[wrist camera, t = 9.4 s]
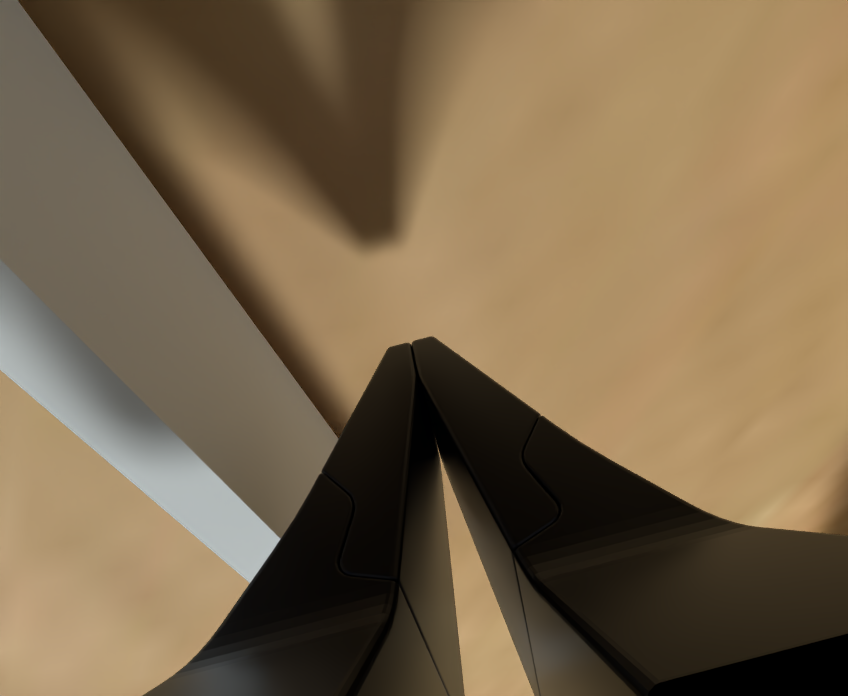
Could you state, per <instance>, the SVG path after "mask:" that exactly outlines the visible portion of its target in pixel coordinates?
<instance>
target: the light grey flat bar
mask: <svg viewBox="0 0 848 696" xmlns="http://www.w3.org/2000/svg"><path fill="white" fill-rule="evenodd" d="M0 370H1V371H2V372H3V373H5V374H6V375H7V376H8V377H9V378H10V379H12V380H13V381H14V382H15V383H16V384H18V385H19V386H20V387H21V388H22V389H23V390H25V391H26V392H27V393H28V394H29V395H30V396H32V397H33V398H34V399H35V400H36V401H37V402H39V403H40V404H41V405H42V406H43V407H44V408H46V409H47V410H48V411H49V412H50V413H51V414H53V415H54V416H55V417H56V418H57V419H59V420H60V421H61V422H62V423H63V424H64V425H66V426H67V427H68V428H69V429H70V430H71V431H73V432H74V433H75V434H76V435H77V436H78V437H80V438H81V439H82V440H83V441H84V442H85V443H87V444H88V445H89V446H90V447H91V448H92V449H94V450H95V451H96V452H97V453H98V454H100V455H101V456H102V457H103V458H104V459H105V460H107V461H108V462H109V463H110V464H111V465H112V466H114V467H115V468H116V469H117V470H118V471H119V472H121V473H122V474H123V475H124V476H125V477H126V478H128V479H129V480H130V481H131V482H132V483H133V484H135V485H136V486H137V487H138V488H139V489H141V490H142V491H143V492H144V493H145V494H146V495H148V496H149V497H150V498H151V499H152V500H153V501H155V502H156V503H157V504H158V505H159V506H160V507H162V508H163V509H164V510H165V511H166V512H167V513H169V514H170V515H171V516H172V517H173V518H174V519H176V520H177V521H178V522H179V523H180V524H182V525H183V526H184V527H185V528H186V529H187V530H189V531H190V532H191V533H192V534H193V535H194V536H196V537H197V538H198V539H199V540H200V541H201V542H203V543H204V544H205V545H206V546H207V547H208V548H210V549H211V550H212V551H213V552H214V553H215V554H217V555H218V556H219V557H220V558H221V559H222V560H224V561H225V562H226V563H227V564H228V565H230V566H231V567H232V568H233V569H234V570H235V571H237V572H238V573H239V574H240V575H241V576H242V577H244V578H245V579H246V580H247V581H248V582H249V583H250V582H251V581H252V580H253V578H254V577H255V575H256V574H257V572H258V571H259V569H260V568H261V567H262V565H263V564H264V562H265V561H266V559H267V558H268V557H269V555H270V554H271V552H272V551H273V549H274V548H275V546H276V545H277V543H278V542H279V540H280V539H281V537H282V536H283V534H284V533H285V531H286V530H287V528H288V527H289V525H290V524H291V522H292V521H293V519H294V518H295V516H296V514H297V512H298V511H299V509H300V507H301V506H302V504H303V502H304V500H305V499H306V497H307V495H308V494H309V492H310V490H311V488H312V486H313V485H314V483H315V481H316V479H317V477H318V475H319V474H321V473H322V472H321V471H322V469H323V467H324V465H325V463H326V461H327V459H328V458H329V456H330V454H331V452H332V450H333V448H334V446H335V445H336V443H337V441H338V437H337V436H336V435H335V433H334V432H333V431H332V429H331V428H330V426H329V425H328V424H327V422H326V421H325V420H324V418H323V417H322V416H321V414H320V413H319V411H318V410H317V409H316V407H315V406H314V405H313V403H312V402H311V401H310V399H309V398H308V396H307V395H306V394H305V392H304V391H303V390H302V388H301V387H300V386H299V384H298V383H297V381H296V380H295V379H294V377H293V376H292V375H291V373H290V372H289V370H288V369H287V368H286V366H285V365H284V364H283V362H282V361H281V360H280V358H279V357H278V355H277V354H276V353H275V351H274V350H273V349H272V347H271V346H270V345H269V343H268V342H267V340H266V339H265V338H264V336H263V335H262V334H261V332H260V331H259V330H258V328H257V327H256V325H255V324H254V323H253V321H252V320H251V319H250V317H249V316H248V314H247V313H246V312H245V310H244V309H243V308H242V306H241V305H240V304H239V302H238V301H237V299H236V298H235V297H234V295H233V294H232V293H231V291H230V290H229V289H228V287H227V286H226V284H225V283H224V282H223V280H222V279H221V278H220V276H219V275H218V274H217V272H216V271H215V269H214V268H213V267H212V265H211V264H210V263H209V261H208V260H207V258H206V257H205V256H204V254H203V253H202V252H201V250H200V249H199V248H198V246H197V245H196V243H195V242H194V241H193V239H192V238H191V237H190V235H189V234H188V233H187V231H186V230H185V228H184V227H183V226H182V224H181V223H180V222H179V220H178V219H177V218H176V216H175V215H174V213H173V212H172V211H171V209H170V208H169V207H168V205H167V204H166V202H165V201H164V200H163V198H162V197H161V196H160V194H159V193H158V192H157V190H156V189H155V187H154V186H153V185H152V183H151V182H150V181H149V179H148V178H147V177H146V175H145V174H144V172H143V171H142V170H141V168H140V167H139V166H138V164H137V163H136V162H135V160H134V159H133V157H132V156H131V155H130V153H129V152H128V151H127V149H126V148H125V146H124V145H123V144H122V142H121V141H120V140H119V138H118V137H117V136H116V134H115V133H114V131H113V130H112V129H111V127H110V126H109V125H108V123H107V122H106V121H105V119H104V118H103V116H102V115H101V114H100V112H99V111H98V110H97V108H96V107H95V106H94V104H93V103H92V101H91V100H90V99H89V97H88V96H87V95H86V93H85V92H84V90H83V89H82V88H81V86H80V85H79V84H78V82H77V81H76V80H75V78H74V77H73V75H72V74H71V73H70V71H69V70H68V69H67V67H66V66H65V65H64V63H63V62H62V60H61V59H60V58H59V56H58V55H57V54H56V52H55V51H54V50H53V48H52V47H51V45H50V44H49V43H48V41H47V40H46V39H45V37H44V36H43V34H42V33H41V32H40V30H39V29H38V28H37V26H36V25H35V24H34V22H33V21H32V19H31V18H30V17H29V15H28V14H27V13H26V11H25V10H24V9H23V7H22V6H21V4H20V3H19V2H18V0H0Z"/></svg>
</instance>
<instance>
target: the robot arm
mask: <svg viewBox="0 0 848 696" xmlns="http://www.w3.org/2000/svg"><path fill="white" fill-rule="evenodd" d="M435 438H436V439H435ZM436 442H437V443H436ZM437 446H438V447H437ZM438 449H439V452H438ZM439 453H440V456H441V459H442V462H443V465H444V468H445V470H446V473H447V475H448V478H449V480H450V483H451V485H452V488H453V490H454V493H455V495H456V498H457V500H458V503H459V506H460V508H461V511H462V513H463V516H464V518H465V521H466V523H467V526H468V528H469V531H470V533H471V536H472V538H473V541H474V544H475V546H476V549H477V551H478V554H479V556H480V559H481V561H482V564H483V566H484V569H485V571H486V574H487V576H488V579H489V581H490V584H491V587H492V589H493V592H494V594H495V597H496V599H497V602H498V604H499V607H500V609H501V612H502V614H503V617H504V619H505V622H506V624H507V627H508V630H509V632H510V635H511V637H512V640H513V642H514V645H515V647H516V650H517V652H518V655H519V657H520V660H521V662H522V665H523V668H524V670H525V673H526V675H527V678H528V680H529V683H530V685H531V688H532V690H533V693H534V695H535V696H848V536H847V535H836V534H826V533H816V532H805V531H795V530H784V529H774V528H763V527H755V526H748V525H743V524H739V523H735V522H732V521H729V520H726V519H723V518H720V517H717V516H715V515H712V514H710V513H708V512H705V511H703V510H701V509H699V508H697V507H695V506H693V505H691V504H689V503H688V502H686V501H684V500H682V499H680V498H679V497H677V496H675V495H673V494H671V493H670V492H668V491H666V490H664V489H662V488H660V487H659V486H657V485H655V484H653V483H651V482H650V481H648V480H646V479H644V478H642V477H641V476H639V475H637V474H635V473H633V472H632V471H630V470H628V469H626V468H624V467H623V466H621V465H619V464H617V463H615V462H613V461H612V460H610V459H608V458H607V457H605V456H603V455H602V454H600V453H598V452H596V451H595V450H593V449H591V448H590V447H588V446H586V445H585V444H583V443H581V442H580V441H578V440H577V439H575V438H574V437H572V436H571V435H569V434H568V433H566V432H565V431H563V430H562V429H561V428H559V427H558V426H556V425H555V424H553V423H552V422H551V421H549V420H548V419H547V418H545V417H544V416H541V415H540V414H539V413H538V412H537V411H535V410H534V409H533V408H531V407H530V406H528V405H527V404H526V403H524V402H523V401H522V400H520V399H519V398H517V397H516V396H515V395H513V394H512V393H511V392H509V391H508V390H506V389H505V388H504V387H502V386H501V385H499V384H498V383H497V382H495V381H494V380H493V379H491V378H490V377H488V376H487V375H486V374H484V373H483V372H482V371H480V370H479V369H477V368H476V367H475V366H473V365H472V364H471V363H469V362H468V361H466V360H465V359H464V358H462V357H461V356H460V355H458V354H457V353H455V352H454V351H453V350H451V349H450V348H448V347H447V346H446V345H444V344H443V343H442V342H440V341H439V340H437V339H436V338H435V337H432V336H431V337H426V338H423V339H419V340H415V341H413V342H412V346H411V344H410V343H404V344H400V345H396V346H392V347H389V348H388V349H387V351H386V353H385V355H384V356H383V358H382V360H381V362H380V364H379V366H378V367H377V369H376V371H375V373H374V375H373V377H372V379H371V380H370V382H369V384H368V386H367V388H366V390H365V391H364V393H363V395H362V397H361V399H360V401H359V402H358V404H357V406H356V408H355V410H354V412H353V413H352V415H351V417H350V419H349V421H348V423H347V424H346V426H345V428H344V430H343V432H342V434H341V435H340V437H339V439H338V441H337V443H336V445H335V446H334V448H333V450H332V452H331V454H330V456H329V458H328V459H327V461H326V463H325V465H324V467H323V469H322V471H321V472H322V473H321V474H319V475H318V477H317V479H316V481H315V483H314V485H313V486H312V488H311V490H310V492H309V494H308V495H307V497H306V499H305V500H304V502H303V504H302V506H301V507H300V509H299V511H298V512H297V514H296V516H295V518H294V519H293V521H292V522H291V524H290V525H289V527H288V528H287V530H286V531H285V533H284V534H283V536H282V537H281V539H280V540H279V542H278V543H277V545H276V546H275V548H274V549H273V551H272V552H271V554H270V555H269V557H268V558H267V559H266V561H265V562H264V564H263V565H262V567H261V568H260V569H259V571H258V572H257V574H256V575H255V577H254V578H253V580H252V581H251V582H250V584H249V585H248V587H247V588H246V590H245V591H244V592H243V594H242V595H241V597H240V598H239V600H238V601H237V603H236V604H235V605H234V607H233V608H232V610H231V611H230V613H229V614H228V615H227V617H226V618H225V620H224V621H223V623H222V624H221V626H220V627H219V628H218V630H217V631H216V632H215V634H214V635H213V636H212V638H211V639H210V640H209V641H208V642H207V644H206V645H205V646H204V647H203V648H202V649H201V650H200V652H199V653H198V654H197V655H196V656H195V657H194V658H193V659H192V660H191V661H190V662H189V663H188V664H187V665H186V666H184V667H183V668H182V669H181V670H179V671H178V672H177V673H176V674H174V675H173V676H172V677H170V678H169V679H167V680H166V681H164V682H163V683H161V684H160V685H158V686H157V687H155V688H154V689H152V690H150V691H149V692H147V693H146V694H144V695H143V696H465V695H464V685H463V676H462V666H461V656H460V647H459V637H458V627H457V618H456V608H455V598H454V588H453V579H452V569H451V559H450V550H449V540H448V530H447V521H446V511H445V501H444V492H443V482H442V472H441V464H440V457H439Z"/></svg>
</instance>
